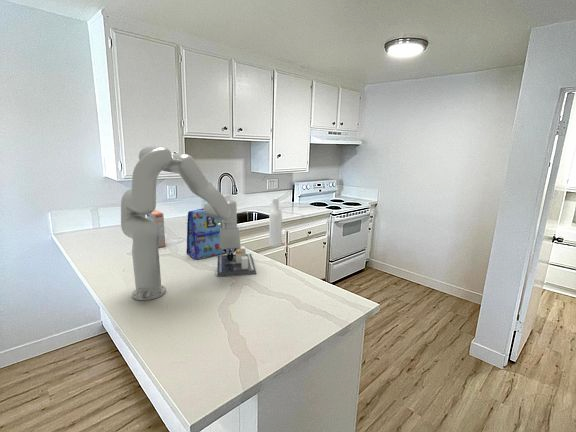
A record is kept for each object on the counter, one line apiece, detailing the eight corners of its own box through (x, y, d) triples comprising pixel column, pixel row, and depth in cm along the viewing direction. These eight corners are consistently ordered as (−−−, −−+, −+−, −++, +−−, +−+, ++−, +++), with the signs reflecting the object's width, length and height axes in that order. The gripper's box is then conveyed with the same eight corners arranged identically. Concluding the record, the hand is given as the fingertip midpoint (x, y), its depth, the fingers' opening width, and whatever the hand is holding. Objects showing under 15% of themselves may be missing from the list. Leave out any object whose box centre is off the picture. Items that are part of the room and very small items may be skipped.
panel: (255, 274, 145) (255, 269, 144) (217, 276, 141) (217, 272, 141) (251, 257, 168) (251, 253, 167) (217, 259, 164) (217, 255, 164)
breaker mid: (242, 263, 153) (241, 252, 152) (236, 263, 152) (235, 252, 151) (241, 260, 157) (241, 250, 155) (235, 260, 156) (235, 250, 155)
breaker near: (248, 268, 146) (247, 258, 145) (241, 269, 145) (241, 259, 144) (247, 265, 149) (247, 256, 148) (241, 266, 149) (241, 256, 148)
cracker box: (166, 246, 185) (163, 212, 180) (156, 248, 181) (153, 214, 176) (158, 241, 195) (155, 209, 191) (148, 243, 191) (145, 210, 187)
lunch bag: (195, 260, 162) (192, 207, 156) (186, 254, 172) (182, 204, 166) (231, 252, 175) (230, 203, 169) (220, 246, 185) (219, 200, 179)
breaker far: (245, 257, 161) (245, 248, 160) (239, 257, 160) (239, 248, 159) (245, 254, 165) (244, 246, 164) (239, 255, 164) (239, 246, 163)
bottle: (267, 244, 192) (267, 197, 186) (279, 242, 195) (279, 196, 188) (271, 247, 184) (271, 199, 178) (283, 246, 187) (284, 198, 181)
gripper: (213, 228, 144) (215, 264, 148) (245, 226, 147) (245, 262, 151) (213, 224, 151) (215, 259, 155) (243, 223, 155) (244, 257, 159)
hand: (230, 260), depth 153 cm, fingers closed
